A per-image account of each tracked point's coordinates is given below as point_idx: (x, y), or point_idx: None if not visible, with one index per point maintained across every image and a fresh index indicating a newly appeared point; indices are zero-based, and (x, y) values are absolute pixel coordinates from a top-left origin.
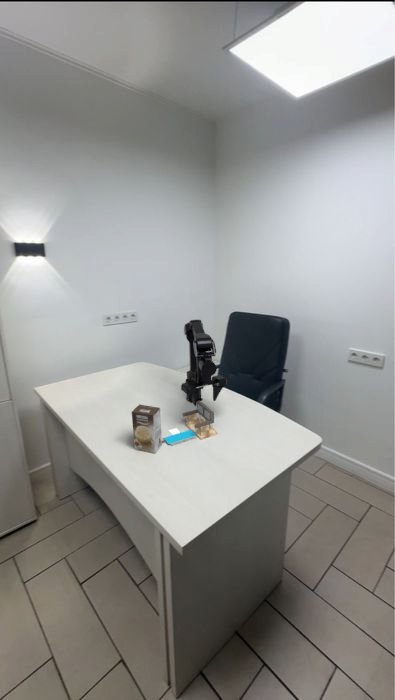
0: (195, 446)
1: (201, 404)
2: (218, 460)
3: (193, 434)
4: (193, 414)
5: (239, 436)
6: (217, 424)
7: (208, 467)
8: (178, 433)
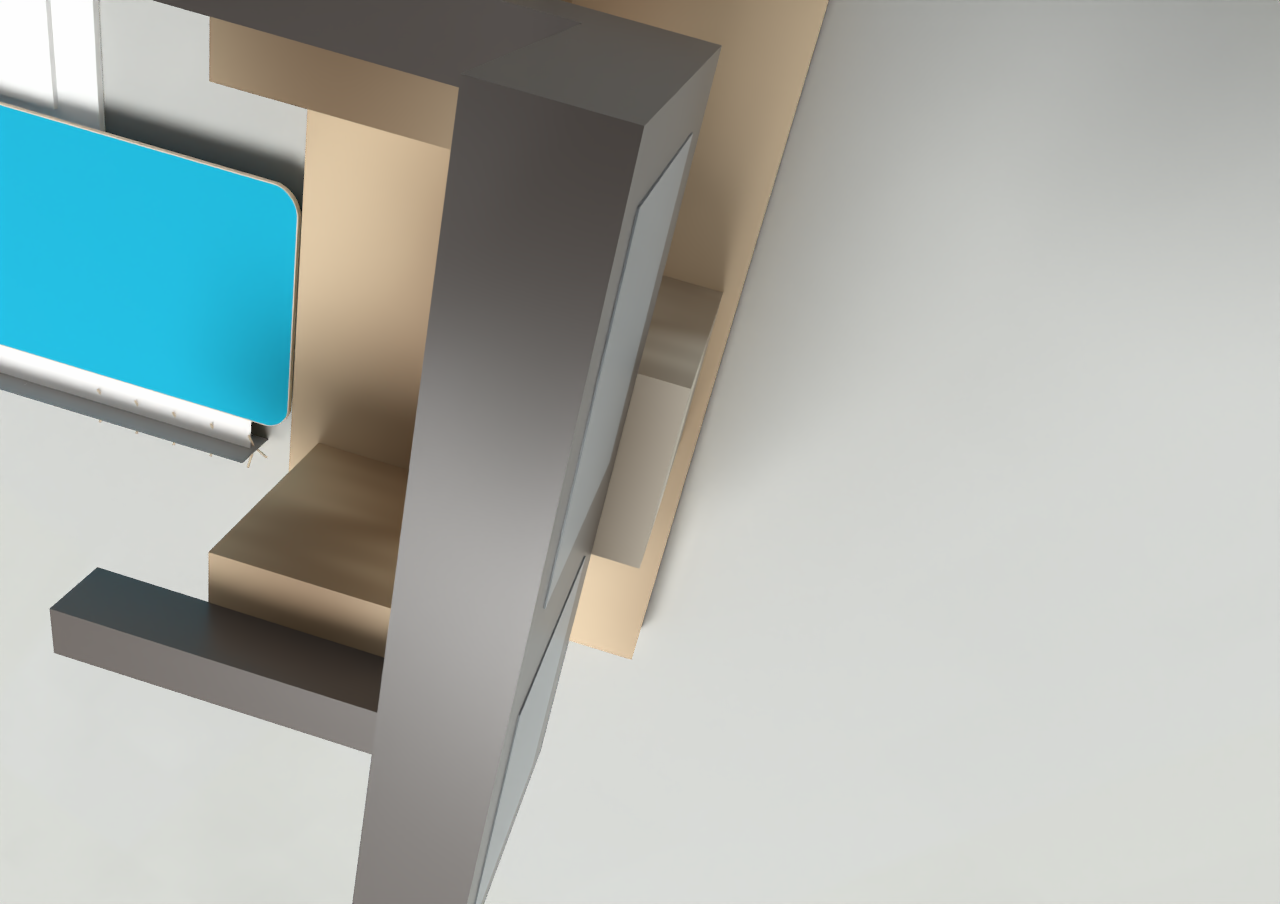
0: (152, 575)
1: (437, 505)
2: (251, 900)
3: (256, 368)
4: (399, 77)
5: (836, 879)
6: (925, 431)
7: (101, 880)
8: (14, 115)
